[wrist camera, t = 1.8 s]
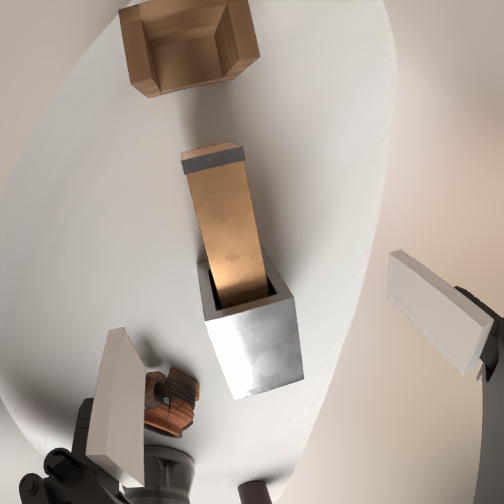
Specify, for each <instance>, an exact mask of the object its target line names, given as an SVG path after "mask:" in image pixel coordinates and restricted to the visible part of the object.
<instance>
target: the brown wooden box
mask: <svg viewBox="0 0 504 504" xmlns="http://www.w3.org/2000/svg"><path fill="white" fill-rule="evenodd" d="M118 11H119V18H120V24H121V31H122V37H123V43H124V49H125V55H126V61H127V66H128V71H129V77H130V82H131V85H133V86H134V87H135V88H136V89H138V90H139V91H140V92H141V93H143V94H144V95H145V96H146V97H148V98H151V97H155V96H158V95H162V94H166V93H170V92H174V91H178V90H182V89H186V88H190V87H195V86H199V85H204V84H209V83H214V82H219V81H225V80H230V79H234V78H235V77H237V76H238V75H239V74H240V73H241V72H242V71H244V70H245V69H246V68H247V67H248V66H250V65H251V64H252V63H253V62H254V61H256V60H257V59H258V58H259V57H260V54H259V49H258V44H257V40H256V35H255V31H254V26H253V22H252V17H251V13H250V9H249V4H248V0H152V1H148V2H144V3H141V4H137V5H133V6H130V7H127V8H123V9H120V10H118Z"/></svg>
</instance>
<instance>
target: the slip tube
mask: <svg viewBox="0 0 504 504" xmlns="http://www.w3.org/2000/svg"><path fill="white" fill-rule="evenodd" d="M244 160H245V157H244V152H243V147H242V146H241V145H238V144H235V143H232V142H225V143H220V144H216V145H212V146H207V147H203V148H199V149H195V150H191V151H187V152H183V153H181V162H182V166H183V170H184V174H185V175H186V176H187V180H188V184H189V188H190V192H191V196H192V200H193V204H194V208H195V212H196V215H197V219H198V223H199V227H200V231H201V234H202V238H203V242H204V246H205V249H206V253H207V256H208V260H209V264H210V267H211V271H212V274H213V278H214V281H215V285H216V288H217V292H218V295H219V299H220V302H221V305H222V309H227V308H230V307H234V306H237V305H241V304H245V303H248V302H252V301H255V300H259V299H262V298H266V297H269V296H270V295H269V290H268V284H267V279H266V274H265V269H264V263H263V258H262V253H261V248H260V242H259V237H258V232H257V227H256V222H255V217H254V211H253V206H252V201H251V196H250V191H249V186H248V181H247V176H246V171H245V165H244Z"/></svg>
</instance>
